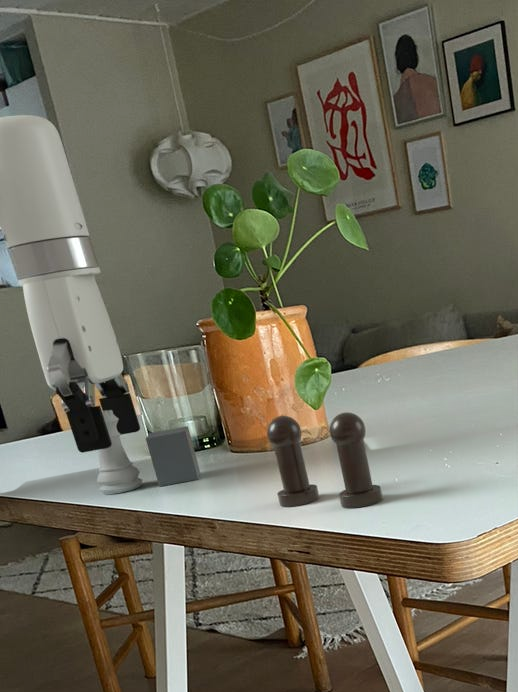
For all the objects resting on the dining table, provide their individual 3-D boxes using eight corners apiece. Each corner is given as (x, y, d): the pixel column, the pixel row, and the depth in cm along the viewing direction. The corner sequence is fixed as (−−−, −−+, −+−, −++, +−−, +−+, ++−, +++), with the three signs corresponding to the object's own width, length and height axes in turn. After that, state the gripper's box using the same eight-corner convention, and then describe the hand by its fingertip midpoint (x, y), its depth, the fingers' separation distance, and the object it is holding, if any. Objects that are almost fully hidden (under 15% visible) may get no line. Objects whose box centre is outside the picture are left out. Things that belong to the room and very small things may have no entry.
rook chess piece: (147, 486, 96) (125, 409, 93) (103, 497, 95) (79, 418, 92) (140, 481, 100) (118, 406, 97) (97, 491, 98) (74, 415, 95)
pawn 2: (338, 510, 74) (318, 419, 71) (345, 499, 77) (326, 412, 74) (379, 504, 74) (362, 413, 71) (385, 494, 77) (368, 406, 74)
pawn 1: (275, 508, 78) (255, 422, 75) (284, 498, 81) (265, 415, 78) (315, 503, 77) (296, 416, 75) (322, 493, 81) (304, 410, 78)
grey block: (159, 486, 96) (145, 438, 94) (162, 479, 99) (149, 433, 97) (198, 479, 96) (185, 431, 94) (200, 472, 100) (187, 426, 98)
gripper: (51, 271, 97) (103, 433, 104) (-23, 271, 81) (44, 464, 88) (121, 258, 97) (169, 422, 103) (61, 256, 81) (122, 450, 87)
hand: (111, 441), depth 95 cm, fingers open, 9 cm apart
